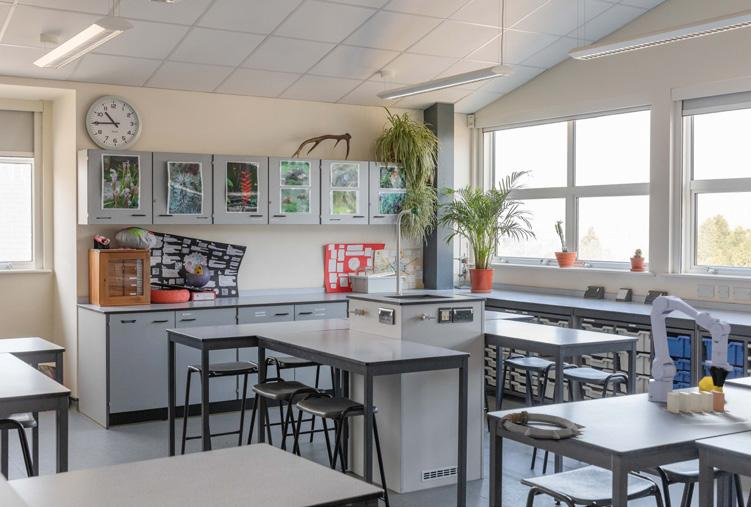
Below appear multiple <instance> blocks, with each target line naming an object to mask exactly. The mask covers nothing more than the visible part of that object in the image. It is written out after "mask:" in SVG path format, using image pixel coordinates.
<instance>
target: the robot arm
mask: <svg viewBox="0 0 751 507" xmlns="http://www.w3.org/2000/svg"><path fill="white" fill-rule="evenodd" d="M675 311H679V312H681V313H683V314H684V315H687V316H689V317H690V318H692V319H694V321H695V324H697V325H698V326H700V327H701V328H703V329H705V330H707V331H709V333H710V335H711V360H705V361H704V362H705V366H708V369H707V370H708V372H709V374H710V377H712V380H713V385H714V386H718V387H723V388H724V386H725V381H726V380H727V377H728V375H729V374H730V372H734V365H731V364H730V363H729V362H728V347H729V346H728V342H729V337H728V336H729V335H730V333H731V331H732V328H731V325H730V324H729V323H728V322H727V321H725V320H721V321H720V318H719V317H714V316H713V315H712V314H710V313H711V312H709V311H698V310H697V309H695V308H694V307H693V306H691V305H689V304H688V303H687V302H685V301H683V300H682V298H679V297H677V296H676V295H672V294H671V295H659V296H656V298H655V299H654V300H653V301H652V308H651V311H650V323H651V324H650V325H651V332H652V337H653V338H652V339H653V345H654V346H653V348H654V355H655V357H654V359H653V360H652V363H651V364H652V367H651V370H650V371H651V376H652V377H653V378H650V379H649V382H648V395H647V396H648V397H647V398H648V400H647V401H648V402H664V403H667V394H668V392H673V389H674V388H673V385H674V384H673V383H674V377H675V376H676V375H677V366H676V365H675V364H674V360H673V359H672V358H671V357H670V356H671V355H670V353H669V343H668V336H667V335H668V334H667V328H666V320H665V319H666V318H667V317H668V315H669V314H671V313H673V312H675Z"/></svg>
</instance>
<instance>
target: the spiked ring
mask: <svg viewBox="0 0 751 507" xmlns="http://www.w3.org/2000/svg"><path fill="white" fill-rule="evenodd" d="M529 422H531V423H532V422H533V423H543V424H549V425H554V424H555V426H559V427H562V429H561V428H560V429H559V428H558V429H547V428H544V429H543V428H534V427H528V426H524V425H519V424H515V423H522V424H528V423H529ZM498 426H499V428H500V429H501V430H503V431H508V432H510V433H513V434H515V435H520V436H523V437H528V438H535V439H555V440H556V439H564V438H568V437H576V436H584V434H583V433H581V432H579V430H581V429H585V428H587V426H585V425H582V424H578V423H575V422H573V421H571V420H569V419H567V418H564V417H561V416H556V415H552V414H546V413H539V412H538V413H534V412H528V411H527V410H521V412H512V413H508V414H506V415H504V416H502V417H501V418H500V419H499V421H498Z"/></svg>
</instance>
